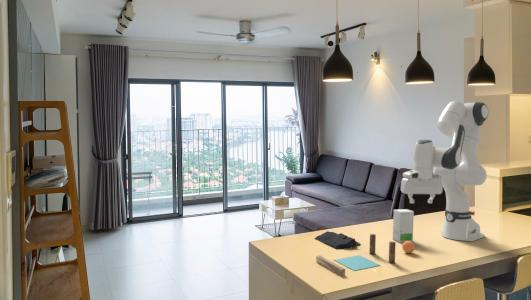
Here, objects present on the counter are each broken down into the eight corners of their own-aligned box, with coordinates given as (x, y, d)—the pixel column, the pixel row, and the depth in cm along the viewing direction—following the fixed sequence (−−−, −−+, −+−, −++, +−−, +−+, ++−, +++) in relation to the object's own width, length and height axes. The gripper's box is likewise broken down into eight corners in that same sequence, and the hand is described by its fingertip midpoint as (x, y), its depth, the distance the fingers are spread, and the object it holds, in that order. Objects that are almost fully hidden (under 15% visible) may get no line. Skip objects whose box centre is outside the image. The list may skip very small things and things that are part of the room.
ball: (408, 250, 198) (408, 238, 198) (417, 253, 193) (417, 241, 193) (399, 251, 196) (399, 240, 195) (408, 255, 191) (408, 243, 190)
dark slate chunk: (335, 235, 224) (335, 226, 224) (363, 247, 205) (363, 237, 204) (312, 239, 217) (312, 230, 217) (338, 251, 198) (338, 242, 197)
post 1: (372, 252, 195) (373, 233, 194) (376, 254, 193) (376, 235, 192) (368, 253, 194) (368, 234, 193) (371, 255, 192) (372, 235, 191)
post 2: (391, 261, 184) (392, 241, 183) (396, 263, 181) (396, 242, 181) (387, 262, 183) (388, 241, 182) (391, 263, 180) (392, 243, 179)
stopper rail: (320, 260, 184) (320, 255, 184) (345, 275, 168) (345, 269, 168) (316, 261, 183) (316, 256, 183) (341, 275, 167) (341, 269, 167)
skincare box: (399, 242, 210) (399, 212, 209) (391, 239, 216) (392, 209, 215) (413, 241, 212) (414, 211, 211) (405, 237, 219) (406, 208, 217)
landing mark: (359, 255, 191) (359, 255, 191) (380, 265, 178) (380, 265, 178) (334, 260, 185) (334, 259, 185) (354, 270, 172) (354, 270, 172)
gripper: (438, 173, 203) (436, 202, 203) (399, 173, 199) (398, 202, 199) (446, 175, 197) (444, 204, 197) (406, 174, 192) (405, 204, 193)
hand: (420, 203), depth 198 cm, fingers open, 8 cm apart
